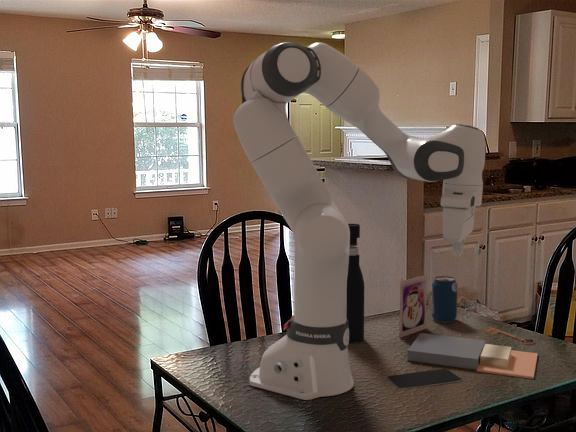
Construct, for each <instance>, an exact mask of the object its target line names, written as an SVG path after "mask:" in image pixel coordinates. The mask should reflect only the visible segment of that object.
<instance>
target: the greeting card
mask: <svg viewBox="0 0 576 432" xmlns="http://www.w3.org/2000/svg"><path fill="white" fill-rule="evenodd" d="M403 277H404V272H402V273H401V277H400V281H399V284H400V285H399V287H400V290H399V333H398V334H399V337H398V338H399V339H401V338H403V337H406V336H409V335H411V334H412V335H413V334H414V333H417V332H419V331H423V330H427V329H426V328H427V295H428V293H427V292H428V290H427V289H428V274H424V275H421V276H416V277H413V278H408V279H406V280H405V279H404V278H403ZM403 279H404V280H403Z"/></svg>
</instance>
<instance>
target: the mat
mask: <svg viewBox="0 0 576 432" xmlns="http://www.w3.org/2000/svg"><path fill="white" fill-rule="evenodd" d="M538 354H539V353H537V352H528V351H521V350H520V351H519V350H515V349H514V350H513V349H511V357H510V361H509V364H508V368H505V367H497V366H489V365H482V364H480V363H479V365H478V368H477V370H476V372H479V373H485V374H487V373H488V374H493V375H500V376H507V377H508V376H510V377H514V378H515V377H516V378H524V379H529V380H530V379H532V380H534V379H535V372H536V366H537V361H538V360H537V359H538V356H539V355H538Z"/></svg>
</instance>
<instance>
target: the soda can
mask: <svg viewBox="0 0 576 432" xmlns="http://www.w3.org/2000/svg"><path fill="white" fill-rule="evenodd" d="M431 284H432V285H431V287H432V288H431V316H432V318H433V320H434V321H435V322H438V323H442V324H443V323H445V324H447V323H452V322H454V321H455V320H456V319H457V316H458V315H457V314H458V313H457V312H458V283H457V281H456V277H453V276H448V275H447V276H446V275H445V276H444V275H441V276H435V277H434V280H433V282H432V283H431Z"/></svg>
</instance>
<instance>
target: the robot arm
mask: <svg viewBox="0 0 576 432" xmlns="http://www.w3.org/2000/svg"><path fill="white" fill-rule="evenodd" d="M240 93H241V104H240V105H239V106H238V108H237V109H236V110H235V112H234V114H233V117H232V123H233V126H234V129H235V132H236V135H237V137H238V140H239V142H240V145H241V146H242V149H243V151H244V153H245V155H246V157H247V159H248V161H249V163H250V164H251V166H252V168H253V169H254V171H255V173H256V175H257V176H258V178H259V180H260V182H261V183H262V185H263V187H264V188H265V190H266V192H267V194H268V195H269V197H270V198H271V200H272V201H273V203H274V204H275V206H276V207H277V209H278V211H279V212H280V214H281V215H282V217H283V219H284V220H285V222H286V223H287V225H288V226H289V228H290V230H291V232H292V234H293V236H294V279H293V281H294V282H293V283H294V284H293V286H294V289H293V291H294V295H293V298H294V299H293V300H294V301H293V303H294V310H293V312H294V314H293V315H292V316H291V318H290V319H289V320H287V321H286V323H284V325H283V331H286V335H284V336H283V337H281V338H280V339H278V340H277V341H276V342H274V343H273V344H272V345H270V346H269V347H268V348H266V350H265V351H264V352H263V354H262V356H261V359H260V365H259V367H258V368H256V369H255V370H254V371H253V372H252V373H251V374H250V376H249V385H250V386H252V387H255V388H259V389H262V390H265V391H269V392H274V393H278V394H281V395H284V396H289V397H292V398H296V399H300V400H303V401H305V400H306V401H310V400H314V399H317V398H320V397H321V398H322V397H331V396H332V397H333V396H337V395H341V394H343V393H346V392H348V391H350V390H351V389H353V387H354V386H355V381H354V379H353V376H352V370H351V366H350V361H349V351H348V347H349V344H350V343H349V326H348V319H347V318H346V311H347V275H348V264H349V247H350V229H349V226H348V224H349V223H348V222H347V220H346V218H345V216H343V214H342V213H341V211H340V209H339V208H338V206H337V204H336V202H335V200H334V199H333V198H332V196H331V194H330V192H329V190H328V189H327V187H326V185H325V183H324V181H323V179H322V178H321V176H320V173H319V172H318V170H317V168H316V166H315V165H314V162H313V161H312V160H311V157H310V156H309V154H308V153H307V150H306V149H305V147H304V145H303V143H302V142H301V140H300V138H299V136H297V133H296V131H295V130H294V128H293V126H292V124H291V123H290V121H289V118H288V115H287V108H286V107H287V104H288V103H289V102H291V101H292V100H294V99H295V98H298V96H299V95H301V94H304V93H305V94H308V95H310V96H312V97H313V98H315V99H316V100H317V101H318V102H319V103H320V104H321V105H322V106H324V107H325V108H327V110H328V111H330V112H331V113H333V114H334V115H336V116H337V117H338V118H340V119H341V120H343V121H345V122H346V123H348V124H350V125H351V126H353V127H355V128H356V129H358V130H359V131H360V132H362V133H363V134H364V135H365V136H366V137H367V138H368V139H369V140H371V141H372V142H373V143H374V144H375V145H376V146H377V147H378V148H379V149H380V150H381V151H382V152H383V153H384V154H385V156H386V157H387V159H388V161H389V163H390V165H391V167H392V168H393V170H394V172H395V173H396V174H397V175H398V176H399V177H401V178H403V179H406V180H417V181H423V182H427V183H434V182H435V183H436V182H438V181H442V182H443V183H442V192H441V193H442V195H441V197H440V206H441V207H443V208H442V237H443V241H444V242H449V243H451V244H452V257H454V258H460V257H461V256H463V251H464V246H465V243H466V237H468V236H469V235H470V234H471V233H472V232H473V231H474V228H475V227H474V226H475V213H476V207H480V206H482V201H483V191H484V187H483V186H484V182H483V181H484V180H483V171H484V168H485V163H486V139H485V138H486V137H485V134H484V132H483V131H482V129H479V128H478V127H476V126H472V125H466V124H461V123H455V124H451V125H450V126H449V127H448V128H446V129H445V130H444V131H442V132H439V133H437V134H435V135H432V136H429V137H428V138H424V137H423V138H422V137H417V136H413V135H410V134H407V133H405V132H403V130H401V129H400V128H399V127H398V126H397V125H396V124H395V123H394V122H393V121H392V120H391V119H389V118H388V117H387V116H386V115H385V114H384V113H383V112H382V110H381V108H380V106H379V105H380V104H379V103H380V96H381V94H380V88H379V86H378V85H377V84H376V82H375V81H374V80H373V78H371V76H370V75H369V74H368V73H367V72H366V71H365V70H364V69H362V68H361V67H360V66H359V65H358V64H357V63H356V62H354V61H353V60H352V59H350V58H349V57H348V56H347V55H345V54H344V53H342V52H340V51H339V50H337V49H336V48H334V47H333V46H330V45H329V44H327V43H325V42H321V41H320V42H314V43H312V44H310V45H308V46H304V45H302V44H299V43H296V42H289V41H288V42H281V43H278V44H274V45H272V47H270V48H269V49H268V50H266V51H265V52H263V53H261V54H259V55H257V57H256V58H255V59H254V60H253V61H252V62H251V64H250V65H249V66H247V68H246V69H245V70H244V71H243V74H242V77H241V81H240Z"/></svg>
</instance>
